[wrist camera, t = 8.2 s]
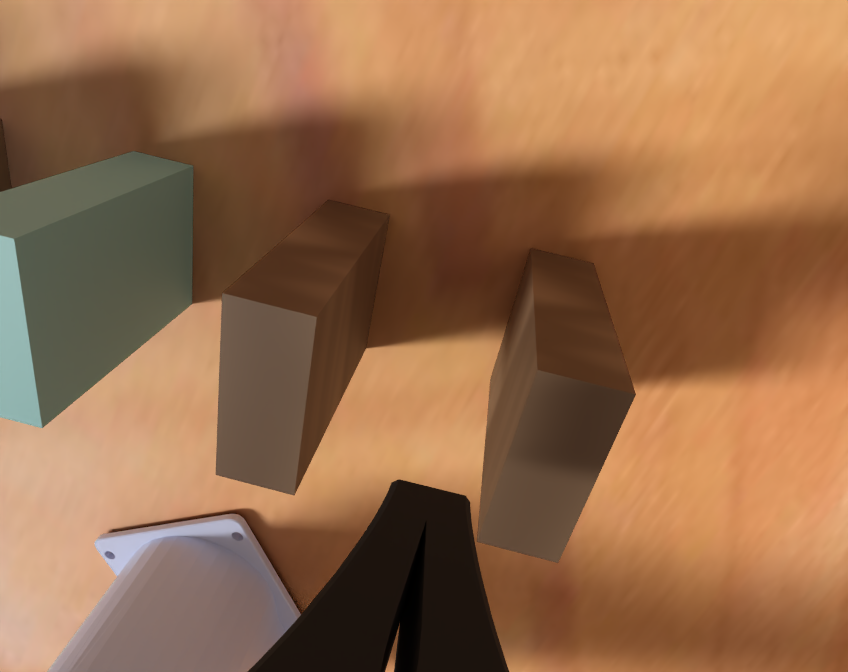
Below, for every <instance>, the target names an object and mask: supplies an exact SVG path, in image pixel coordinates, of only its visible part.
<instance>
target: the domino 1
mask: <svg viewBox="0 0 848 672" xmlns="http://www.w3.org/2000/svg"><path fill="white" fill-rule="evenodd" d="M192 266H193V165H188V164H184V163H180V162H176V161H172V160H168V159H164V158H160V157H156V156H152V155H148V154H143V153H139V152H135V151H132V152H129V153H126V154H123V155H119V156H116V157H113V158H109V159H106V160H103V161H100V162H96V163H93V164H90V165H87V166H83V167H80V168H77V169H74V170H70V171H67V172H64V173H61V174H57V175H54V176H51V177H48V178H44V179H41V180H38V181H35V182H31V183H28V184H25V185H22V186H18V187H15V188H12V189H9V190H5V191H2V192H0V417H2V418H5V419H9V420H13V421H17V422H21V423H24V424H28V425H32V426H36V427H40V428H43V427H44V426H45V425H47V424H48V423H49V422H50V421H51V420H53V419H54V418H55V417H56V416H57V415H59V414H60V413H61V412H62V411H63V410H65V409H66V408H67V407H68V406H70V405H71V404H72V403H73V402H74V401H76V400H77V399H78V398H79V397H80V396H82V395H83V394H84V393H85V392H86V391H88V390H89V389H90V388H91V387H92V386H94V385H95V384H96V383H97V382H98V381H100V380H101V379H102V378H103V377H105V376H106V375H107V374H108V373H109V372H111V371H112V370H113V369H114V368H115V367H117V366H118V365H119V364H120V363H121V362H123V361H124V360H125V359H126V358H127V357H129V356H130V355H131V354H132V353H133V352H135V351H136V350H137V349H138V348H140V347H141V346H142V345H143V344H144V343H146V342H147V341H148V340H149V339H150V338H152V337H153V336H154V335H155V334H156V333H158V332H159V331H160V330H161V329H162V328H164V327H165V326H166V325H167V324H168V323H170V322H171V321H172V320H173V319H175V318H176V317H177V316H178V315H179V314H181V313H182V312H183V311H184V310H185V309H187V308H188V307H189V306H190V305H191V304H192Z"/></svg>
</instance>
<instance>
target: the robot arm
mask: <svg viewBox="0 0 848 672" xmlns="http://www.w3.org/2000/svg"><path fill="white" fill-rule="evenodd" d="M95 547H96V549H97V550H98V552H99V553H100V554H101V556H102V557H103V558H104V560H105V561H106V562H107V564H108V565H109V566H110V568H111V569H112V570H113V572H114V573H115V574H116V576H117V578H116V579H115V580H114V582H113V583H112V584H111V586H110V587H109V588H108V590H107V591H106V592H105V594H104V595H103V596H102V598H101V599H100V601H99V602H98V603H97V605H96V606H95V607H94V609H93V610H92V611H91V613H90V614H89V615H88V617H87V618H86V619H85V621H84V622H83V624H82V625H81V626H80V628H79V629H78V630H77V632H76V633H75V634H74V636H73V637H72V638H71V640H70V641H69V642H68V644H67V645H66V646H65V648H64V649H63V651H62V652H61V653H60V655H59V656H58V657H57V659H56V660H55V661H54V663H53V664H52V665H51V667H50V668H49V669H48V671H47V672H385V670H386V666H387V663H388V660H389V657H390V653H391V650H392V647H393V643H394V640H395V637H396V634H397V630H398V627H399V624H400V627H399V635H398V644H397V652H396V660H395V669H394V672H509V670H508V667H507V664H506V661H505V658H504V655H503V652H502V648H501V645H500V642H499V639H498V636H497V632H496V629H495V626H494V622H493V619H492V615H491V611H490V608H489V604H488V600H487V596H486V592H485V588H484V584H483V581H482V576H481V572H480V567H479V563H478V558H477V553H476V547H475V542H474V536H473V530H472V522H471V513H470V502H469V500H468V499H467V497H466V496H464V495H460V494H456V493H452V492H448V491H444V490H440V489H436V488H432V487H428V486H423V485H419V484H415V483H411V482H407V481H403V480H397V481H394V482H392V483H391V486H390V488H389V491H388V493H387V495H386V497H385V499H384V501H383V503H382V505H381V507H380V508H379V510H378V512H377V514H376V515H375V517H374V519H373V520H372V522H371V523H370V525H369V526H368V528H367V530H366V531H365V533H364V534H363V536H362V537H361V539H360V540H359V541H358V543H357V544H356V546H355V547H354V548H353V550H352V551H351V552H350V554H349V555H348V557H347V558H346V559H345V561H344V562H343V564H342V565H341V566H340V568H339V569H338V570H337V572H336V573H335V574H334V575H333V577H332V578H331V579H330V580H329V582H328V583H327V584H326V585H325V586H324V588H323V589H322V590H321V591H320V593H319V594H318V595H317V596H316V597H315V599H314V600H313V601H312V602H311V604H310V605H309V606H308V607H307V608H306V610H305V611H304V612H303V613H302V614H300V612H299V610H298V609H297V607H296V605H295V604H294V602H293V600H292V598H291V597H290V595H289V593H288V592H287V590H286V588H285V587H284V585H283V583H282V582H281V580H280V578H279V577H278V575H277V573H276V571H275V570H274V568H273V566H272V565H271V563H270V561H269V560H268V558H267V556H266V555H265V553H264V551H263V549H262V548H261V546H260V544H259V543H258V541H257V539H256V538H255V536H254V534H253V533H252V531H251V529H250V528H249V526H248V524H247V522H246V521H245V519H244V518H243V517H241V516H240V515H237V514H226V515H220V516H213V517H207V518H201V519H195V520H188V521H182V522H176V523H170V524H163V525H157V526H151V527H144V528H138V529H132V530H126V531H119V532H113V533H107V534H102V535H100V536H99V537H98V538H97V540H96V541H95Z"/></svg>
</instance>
